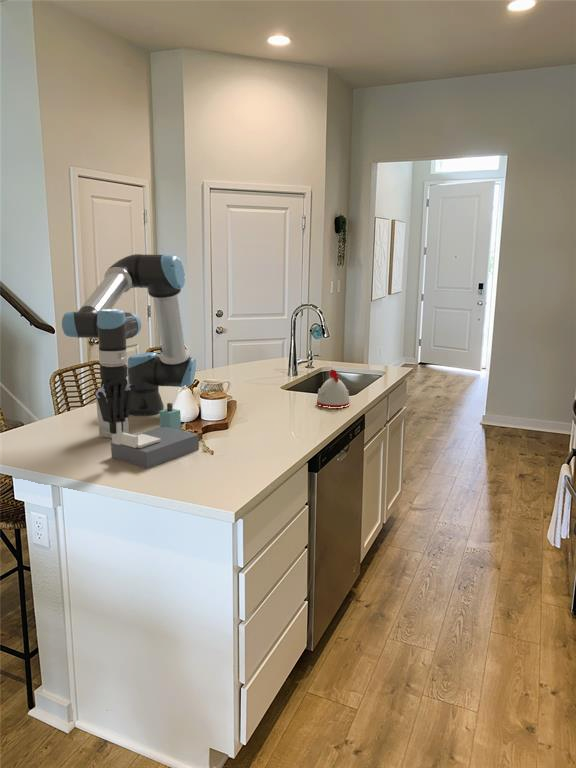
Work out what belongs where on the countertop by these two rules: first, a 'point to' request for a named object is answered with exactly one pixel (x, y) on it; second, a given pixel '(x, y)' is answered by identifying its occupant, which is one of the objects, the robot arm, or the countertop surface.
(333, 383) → the white knitted dome
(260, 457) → the countertop surface
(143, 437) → the white l-shaped bracket
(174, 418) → the teal square bottle
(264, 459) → the countertop surface
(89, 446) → the countertop surface
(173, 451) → the socket block
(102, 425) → the skincare box
